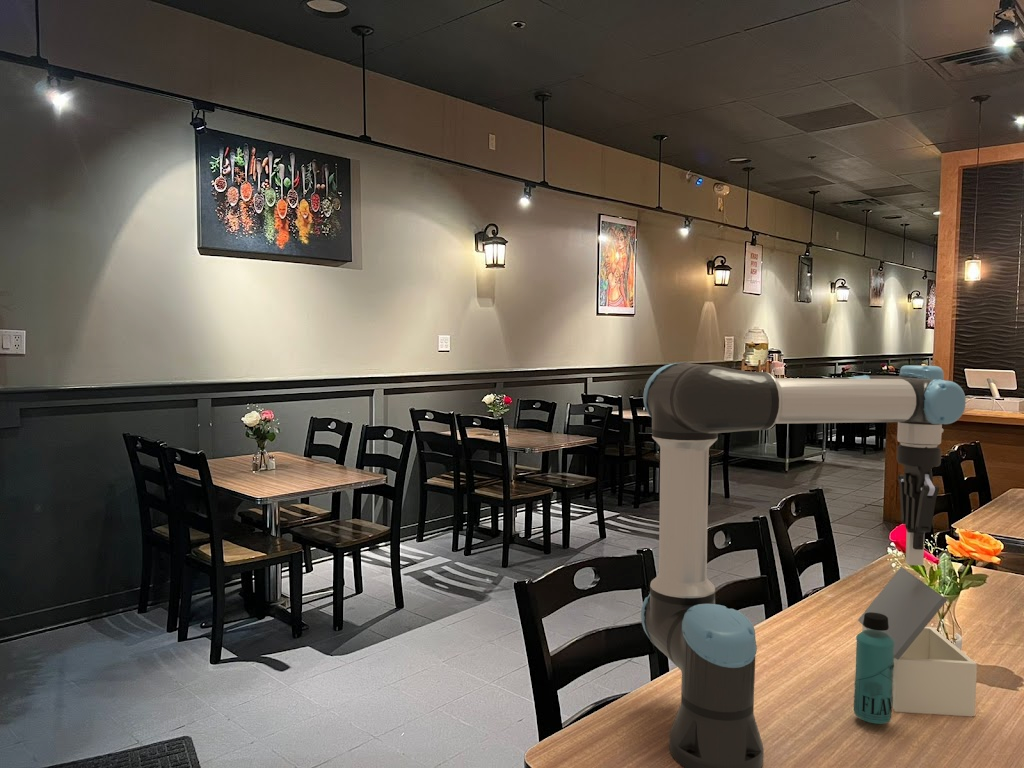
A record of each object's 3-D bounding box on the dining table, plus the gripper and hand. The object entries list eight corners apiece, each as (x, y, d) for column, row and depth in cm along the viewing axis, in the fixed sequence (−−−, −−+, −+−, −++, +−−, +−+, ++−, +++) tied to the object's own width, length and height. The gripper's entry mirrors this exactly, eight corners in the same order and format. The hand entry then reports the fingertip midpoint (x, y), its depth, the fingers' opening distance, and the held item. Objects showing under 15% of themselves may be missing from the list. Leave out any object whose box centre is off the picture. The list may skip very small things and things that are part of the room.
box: (895, 711, 139) (897, 659, 139) (860, 670, 157) (862, 623, 157) (974, 716, 138) (977, 663, 137) (930, 673, 156) (932, 627, 155)
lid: (897, 660, 138) (893, 656, 138) (861, 622, 157) (857, 620, 157) (947, 599, 137) (943, 596, 137) (905, 569, 155) (901, 566, 155)
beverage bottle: (855, 729, 133) (859, 619, 132) (849, 712, 139) (853, 606, 138) (895, 735, 131) (900, 623, 130) (887, 717, 137) (892, 610, 136)
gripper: (955, 449, 138) (950, 575, 139) (924, 440, 151) (919, 555, 152) (913, 448, 139) (908, 573, 140) (885, 439, 152) (881, 554, 153)
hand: (914, 564), depth 146 cm, fingers closed
